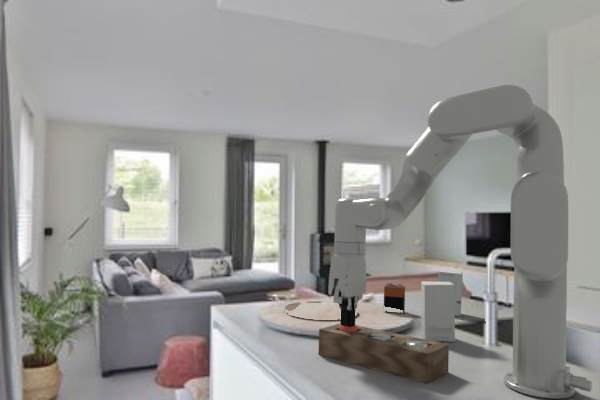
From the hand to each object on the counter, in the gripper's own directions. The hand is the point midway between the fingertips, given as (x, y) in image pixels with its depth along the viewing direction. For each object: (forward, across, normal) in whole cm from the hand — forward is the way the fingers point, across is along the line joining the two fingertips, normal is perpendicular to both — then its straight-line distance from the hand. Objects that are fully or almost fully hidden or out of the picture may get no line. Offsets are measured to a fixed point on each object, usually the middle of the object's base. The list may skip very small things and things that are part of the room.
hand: (347, 325), depth 114 cm
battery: (+7, -54, -18) cm, 57 cm away
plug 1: (+6, 0, +9) cm, 11 cm away
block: (+7, 0, +9) cm, 12 cm away
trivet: (+8, -34, -35) cm, 49 cm away
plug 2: (+6, 0, +18) cm, 19 cm away
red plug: (+5, 0, 0) cm, 5 cm away
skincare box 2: (+7, -66, -3) cm, 66 cm away
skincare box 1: (+7, -30, +9) cm, 32 cm away
